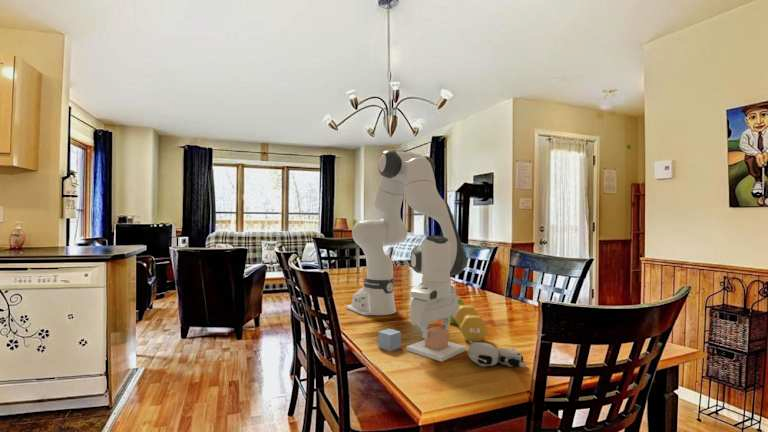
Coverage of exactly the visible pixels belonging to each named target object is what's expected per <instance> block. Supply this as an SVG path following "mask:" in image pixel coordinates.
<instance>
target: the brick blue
mask: <svg viewBox="0 0 768 432" xmlns="http://www.w3.org/2000/svg"><path fill="white" fill-rule="evenodd" d="M377 333H378V338H377V339H378V342H377V343H378V344H377V345H378V348H379V349H382V350H384V351H387V352H392V351H395V350H396V351H397V350H398V349H400V348H402V331H399V330H396V329H393V328H385V329H383V330H382V329H381V330H380V331H378V332H377Z"/></svg>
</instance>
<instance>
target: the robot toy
mask: <svg viewBox="0 0 768 432" xmlns="http://www.w3.org/2000/svg"><path fill="white" fill-rule="evenodd" d="M468 342H469V343H470V344H469V346H468V351H467V356H468V357H469V358H470V360H471V361H472V362H474V363H475V364H478V366H480V367H483V368H485V367H486V368H487V367H488V366H491V367H492V366H495V365H496V364H497V363H500V364H501V365H502V366H503V365H504V366H507V367H509V368H510V367H511V368H512V367H515V368H519V367H520V368H525V367H527V365H526V363H525V362H523V361H524V357H523V355H522V353H520V351H519V350H516V349H514V348H506V347H500V348H498V349H497V348H496V347H495V346H494V344H493V345H492V344H490V343H485V342H480V341H479V342H472V341H468Z"/></svg>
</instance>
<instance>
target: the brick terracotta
mask: <svg viewBox="0 0 768 432" xmlns="http://www.w3.org/2000/svg"><path fill="white" fill-rule="evenodd" d="M427 330H428V332H430V337H429V338H427V339H425V338H424V340H425V346H426V347H429V348H432V349H436V350H440V349H443V348H445V347H447V346H448V342H449V329H448V330H446V329H442V328H441V327H437V326H432V327H429V328H427Z"/></svg>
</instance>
